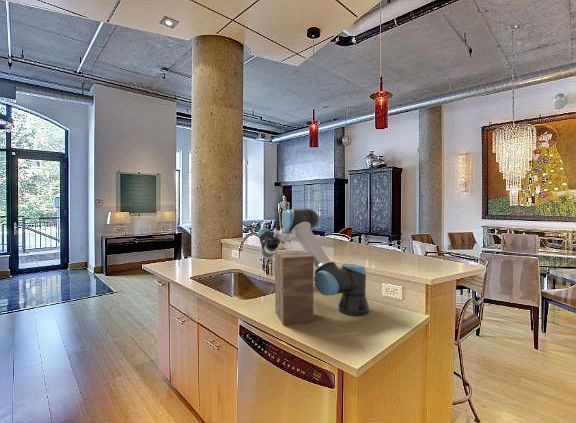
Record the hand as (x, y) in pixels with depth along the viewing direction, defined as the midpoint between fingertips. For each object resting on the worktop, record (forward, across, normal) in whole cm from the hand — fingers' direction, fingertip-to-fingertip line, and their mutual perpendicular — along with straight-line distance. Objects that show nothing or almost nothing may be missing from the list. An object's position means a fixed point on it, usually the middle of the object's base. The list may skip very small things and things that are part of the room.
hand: (279, 230), depth 177 cm
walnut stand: (+7, 0, -48) cm, 49 cm away
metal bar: (+1, 0, -6) cm, 6 cm away
